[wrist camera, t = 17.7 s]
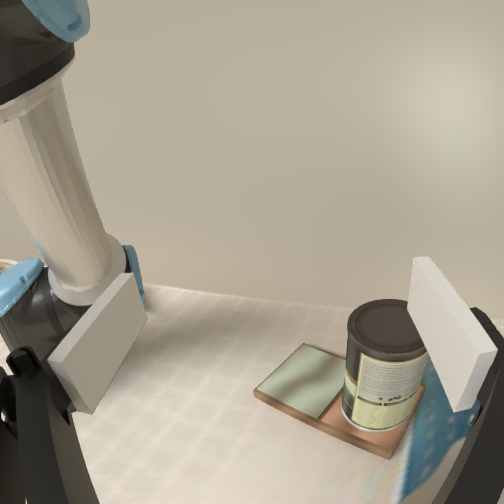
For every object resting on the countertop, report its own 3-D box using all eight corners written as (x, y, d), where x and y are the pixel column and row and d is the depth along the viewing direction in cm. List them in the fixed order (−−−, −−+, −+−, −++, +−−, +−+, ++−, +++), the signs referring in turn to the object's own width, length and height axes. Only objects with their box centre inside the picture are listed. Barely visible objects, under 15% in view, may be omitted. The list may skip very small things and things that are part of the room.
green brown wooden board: (254, 396, 45) (253, 389, 44) (303, 349, 54) (303, 342, 53) (389, 459, 31) (392, 453, 31) (423, 392, 40) (426, 385, 39)
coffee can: (324, 403, 40) (328, 322, 35) (376, 368, 45) (387, 289, 39) (376, 447, 32) (399, 369, 26) (426, 403, 36) (452, 322, 31)
